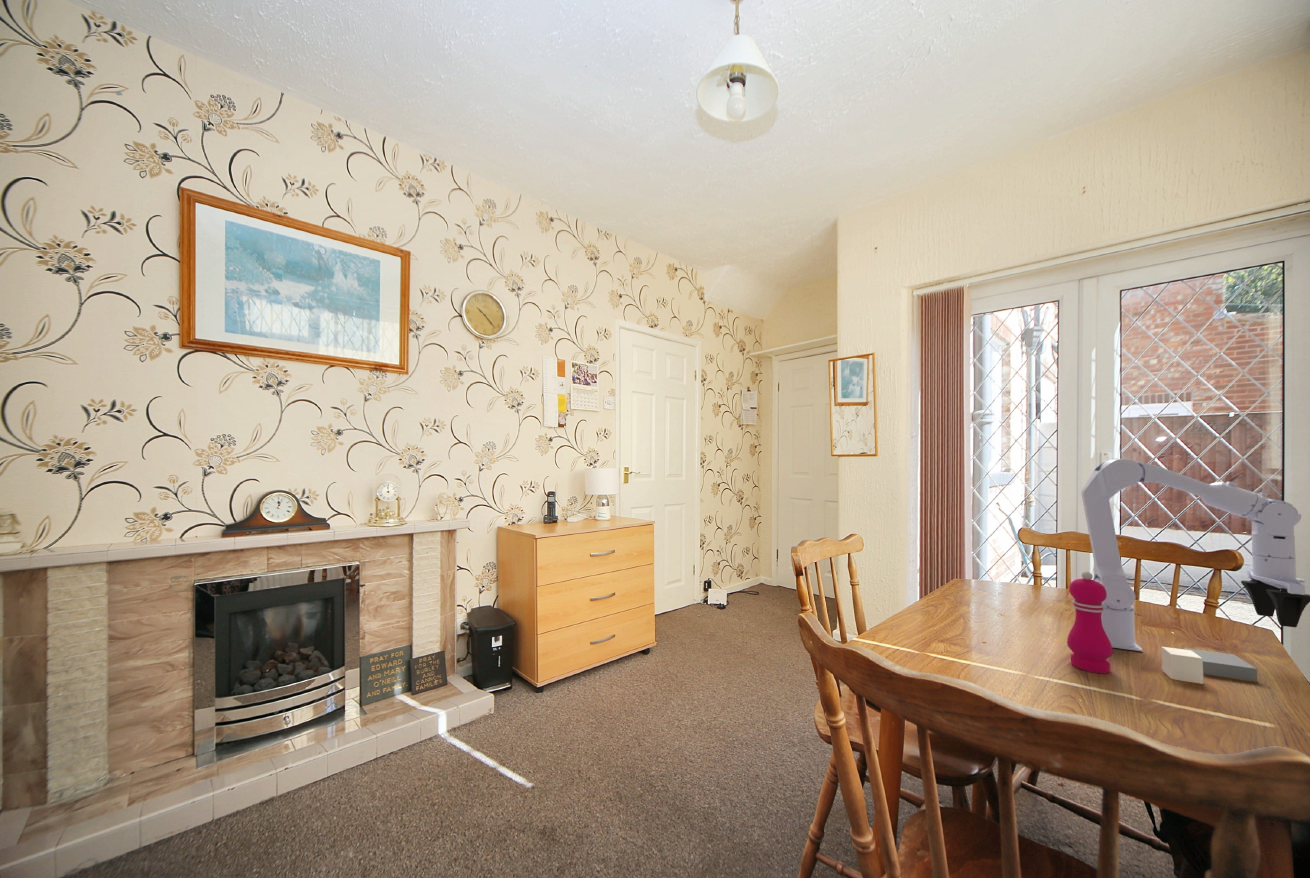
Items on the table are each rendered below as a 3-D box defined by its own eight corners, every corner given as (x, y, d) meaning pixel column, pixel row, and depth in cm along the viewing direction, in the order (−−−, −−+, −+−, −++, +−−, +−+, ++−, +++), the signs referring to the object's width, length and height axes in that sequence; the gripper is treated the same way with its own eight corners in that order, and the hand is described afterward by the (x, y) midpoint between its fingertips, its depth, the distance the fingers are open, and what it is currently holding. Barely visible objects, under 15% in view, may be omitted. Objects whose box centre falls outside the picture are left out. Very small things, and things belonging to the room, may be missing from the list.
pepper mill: (1122, 676, 100) (1119, 576, 100) (1081, 673, 101) (1078, 574, 102) (1098, 661, 107) (1095, 568, 107) (1060, 659, 108) (1057, 567, 109)
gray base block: (1200, 675, 101) (1199, 660, 101) (1182, 661, 108) (1181, 647, 108) (1257, 684, 97) (1256, 668, 97) (1235, 668, 104) (1234, 654, 104)
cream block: (1171, 679, 98) (1170, 654, 99) (1162, 670, 102) (1161, 646, 103) (1203, 684, 96) (1202, 658, 96) (1192, 675, 100) (1191, 650, 100)
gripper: (1327, 564, 96) (1330, 635, 95) (1279, 552, 109) (1281, 614, 108) (1273, 560, 99) (1276, 628, 99) (1233, 549, 112) (1235, 609, 111)
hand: (1276, 620), depth 104 cm, fingers open, 7 cm apart
